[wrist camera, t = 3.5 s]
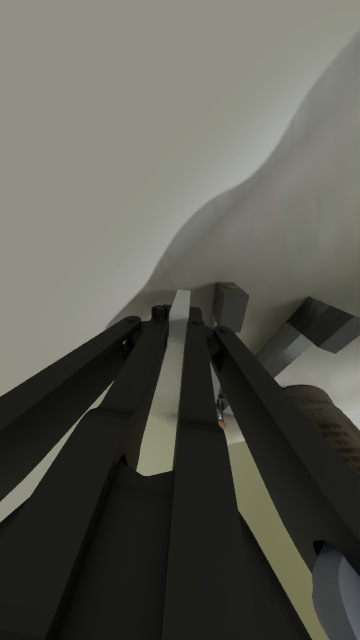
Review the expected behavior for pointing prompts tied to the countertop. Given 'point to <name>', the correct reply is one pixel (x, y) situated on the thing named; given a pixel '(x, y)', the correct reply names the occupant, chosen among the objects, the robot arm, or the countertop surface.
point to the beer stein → (329, 422)
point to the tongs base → (303, 339)
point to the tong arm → (227, 314)
